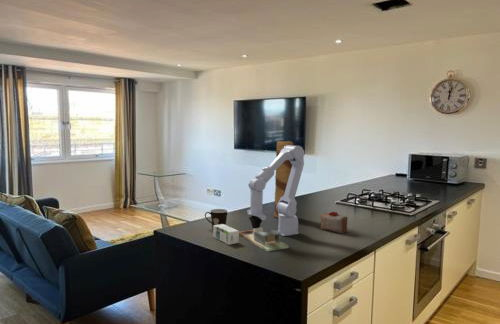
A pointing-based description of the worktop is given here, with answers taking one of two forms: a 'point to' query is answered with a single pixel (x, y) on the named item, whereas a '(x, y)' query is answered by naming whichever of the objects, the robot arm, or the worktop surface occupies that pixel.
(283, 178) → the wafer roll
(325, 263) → the worktop surface
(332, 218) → the food item
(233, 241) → the syrup box
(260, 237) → the rail tunnel
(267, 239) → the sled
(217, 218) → the coffee mug
